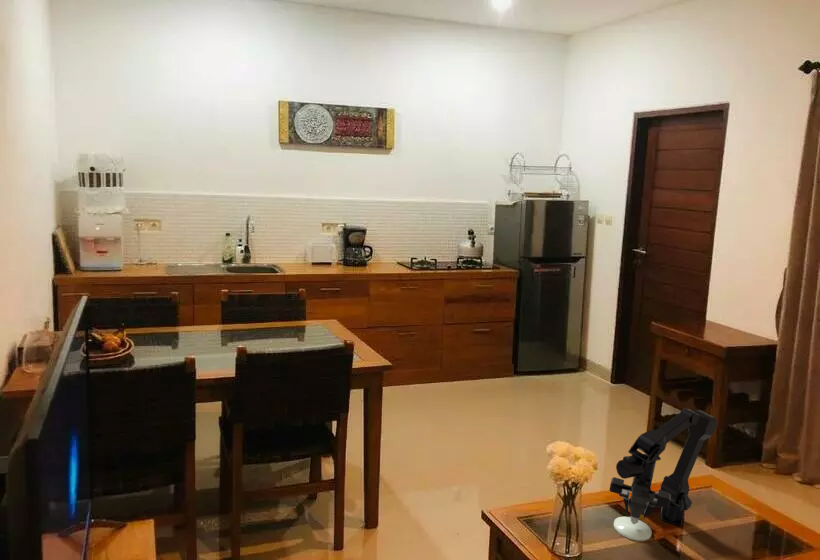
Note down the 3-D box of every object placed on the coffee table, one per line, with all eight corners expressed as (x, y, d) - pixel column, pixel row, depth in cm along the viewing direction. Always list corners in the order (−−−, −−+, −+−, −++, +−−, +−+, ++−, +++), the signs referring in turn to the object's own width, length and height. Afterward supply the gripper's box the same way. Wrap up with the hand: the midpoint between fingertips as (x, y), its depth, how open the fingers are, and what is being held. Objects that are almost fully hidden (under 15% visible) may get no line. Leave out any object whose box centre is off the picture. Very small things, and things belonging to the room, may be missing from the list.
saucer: (652, 526, 222) (652, 523, 222) (650, 545, 211) (650, 542, 211) (615, 515, 226) (616, 512, 226) (611, 533, 216) (612, 530, 215)
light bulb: (643, 529, 215) (649, 502, 213) (625, 526, 216) (631, 499, 214) (641, 520, 221) (646, 493, 218) (623, 516, 222) (629, 490, 219)
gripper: (611, 475, 210) (603, 518, 214) (673, 492, 204) (664, 537, 207) (615, 460, 220) (607, 502, 224) (674, 476, 214) (665, 519, 217)
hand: (635, 515), depth 218 cm, fingers closed on light bulb, 5 cm apart
